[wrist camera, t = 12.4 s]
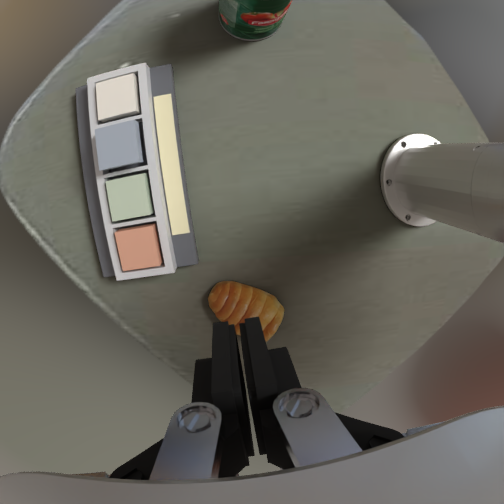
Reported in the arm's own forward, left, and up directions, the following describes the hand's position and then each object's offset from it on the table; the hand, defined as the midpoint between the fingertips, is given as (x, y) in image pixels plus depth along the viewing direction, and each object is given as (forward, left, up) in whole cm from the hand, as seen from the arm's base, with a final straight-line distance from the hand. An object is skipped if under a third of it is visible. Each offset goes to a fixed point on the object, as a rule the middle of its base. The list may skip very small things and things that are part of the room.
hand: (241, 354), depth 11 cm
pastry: (-1, +11, -28) cm, 30 cm away
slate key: (+10, -11, -23) cm, 28 cm away
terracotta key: (+10, 0, -25) cm, 27 cm away
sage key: (+10, -5, -25) cm, 27 cm away
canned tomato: (-6, -26, -27) cm, 38 cm away
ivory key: (+10, -16, -25) cm, 31 cm away
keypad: (+10, -8, -27) cm, 30 cm away
